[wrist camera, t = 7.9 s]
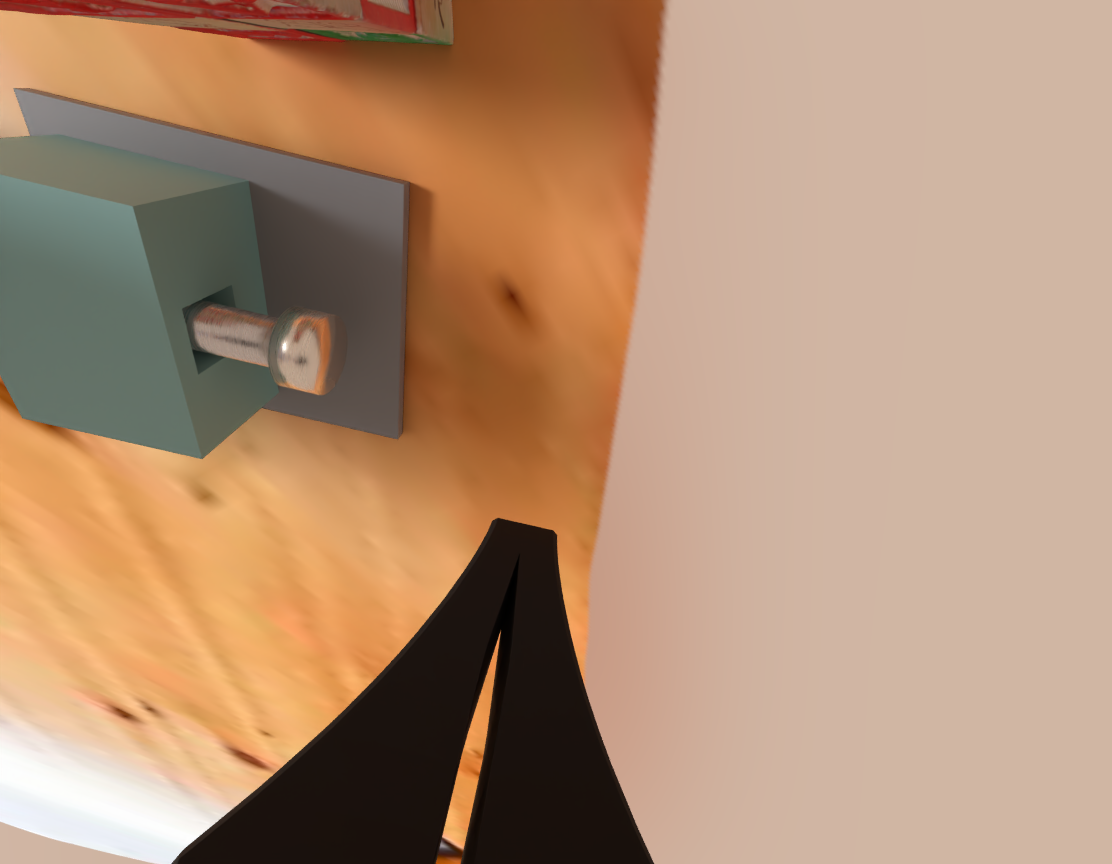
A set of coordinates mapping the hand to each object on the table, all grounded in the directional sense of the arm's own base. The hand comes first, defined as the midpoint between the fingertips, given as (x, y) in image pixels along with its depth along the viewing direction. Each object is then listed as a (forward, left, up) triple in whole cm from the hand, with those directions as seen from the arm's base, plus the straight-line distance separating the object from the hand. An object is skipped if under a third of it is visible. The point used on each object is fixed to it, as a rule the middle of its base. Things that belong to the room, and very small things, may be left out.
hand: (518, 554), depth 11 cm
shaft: (-8, +10, -8) cm, 15 cm away
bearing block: (-8, +9, -9) cm, 15 cm away
